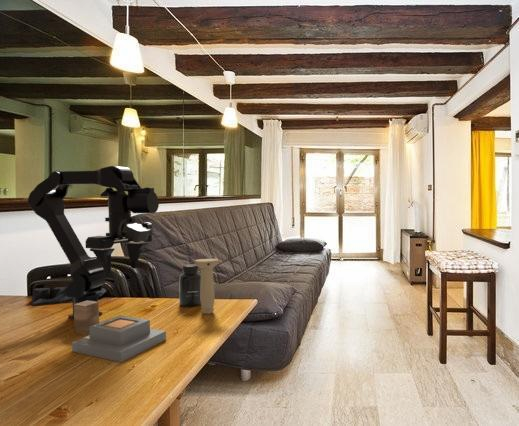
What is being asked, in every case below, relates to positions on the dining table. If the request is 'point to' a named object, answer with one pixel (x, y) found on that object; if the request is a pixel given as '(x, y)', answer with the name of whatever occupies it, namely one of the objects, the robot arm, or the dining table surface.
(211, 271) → the handle
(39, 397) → the dining table surface
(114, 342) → the grey stepped square base
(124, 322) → the button
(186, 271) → the supplement bottle
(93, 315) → the beige rectangular prism
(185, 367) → the dining table surface
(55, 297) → the dark slate chunk
